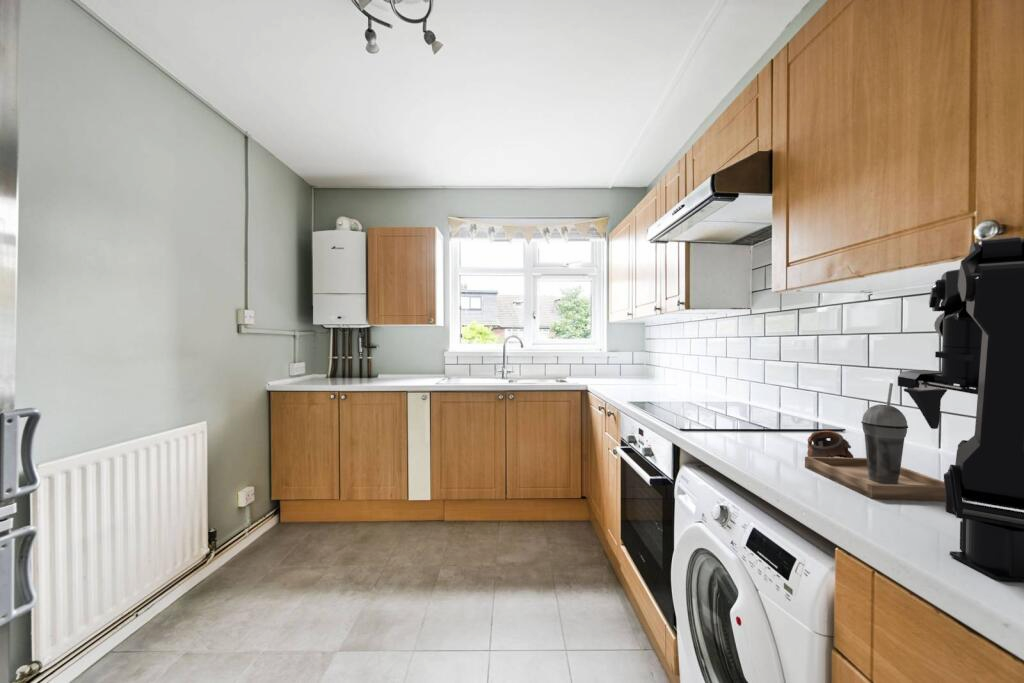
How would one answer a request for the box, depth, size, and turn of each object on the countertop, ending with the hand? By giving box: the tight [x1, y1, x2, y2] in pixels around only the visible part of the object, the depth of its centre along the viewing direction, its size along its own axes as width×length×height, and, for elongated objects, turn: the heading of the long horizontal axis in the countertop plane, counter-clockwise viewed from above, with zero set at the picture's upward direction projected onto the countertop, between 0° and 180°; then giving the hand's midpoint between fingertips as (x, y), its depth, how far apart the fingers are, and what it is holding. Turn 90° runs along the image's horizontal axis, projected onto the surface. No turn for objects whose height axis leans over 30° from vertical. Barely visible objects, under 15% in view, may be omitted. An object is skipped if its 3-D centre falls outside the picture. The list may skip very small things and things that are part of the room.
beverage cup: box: [861, 382, 909, 484], centre depth 88 cm, size 7×7×20 cm
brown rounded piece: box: [806, 430, 854, 458], centre depth 108 cm, size 12×10×8 cm
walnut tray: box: [804, 456, 946, 502], centre depth 90 cm, size 20×16×2 cm
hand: (962, 436), depth 74 cm, fingers open, 9 cm apart
